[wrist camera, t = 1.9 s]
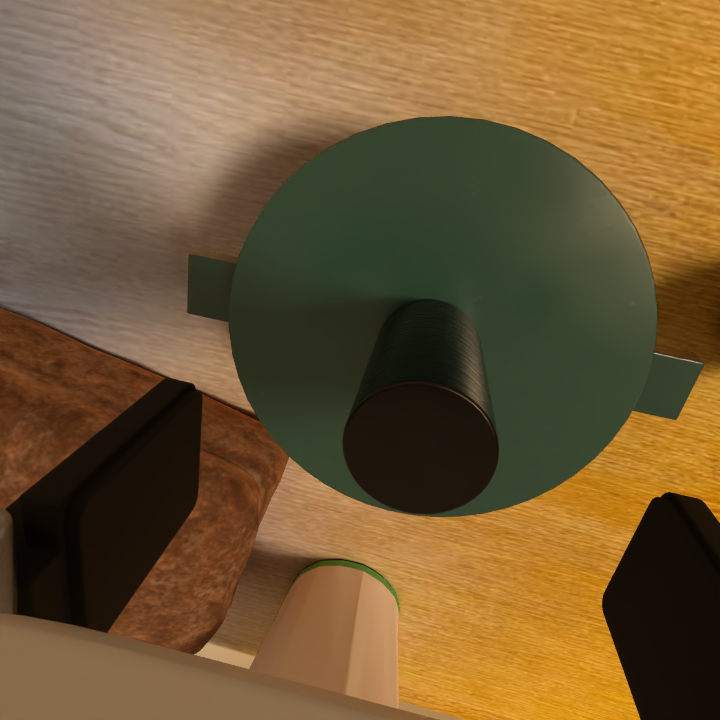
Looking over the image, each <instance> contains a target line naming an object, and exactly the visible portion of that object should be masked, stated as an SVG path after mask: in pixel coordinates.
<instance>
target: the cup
mask: <svg viewBox="0 0 720 720" xmlns="http://www.w3.org/2000/svg"><path fill="white" fill-rule="evenodd" d="M398 619H399V603H398V599H397V595H396V592H395V591H394V589H393V588H392V587H391V586H390V584H389V583H388V582H387V581H386V580H385V579H384V578H383V577H382V576H380V575H379V574H377V573H376V572H374V571H373V570H371V569H369V568H368V567H366V566H364V565H361V564H357V563H353V562H348V561H344V560H329V561H320V562H318V563H315V564H313V565H311V566H309V567H307V568H305V569H304V570H303V571H302V572H301V573H300V574H299V575H298V576H297V577H296V579H295V580H294V581H293V584H292V586H291V588H290V590H289V592H288V594H287V596H286V598H285V600H284V602H283V604H282V606H281V608H280V610H279V612H278V614H277V616H276V618H275V619H274V621H273V623H272V625H271V627H270V629H269V631H268V633H267V635H266V637H265V639H264V641H263V643H262V645H261V647H260V649H259V651H258V653H257V655H256V657H255V659H254V661H253V663H252V665H251V667H250V670H254V671H257V672H261V673H265V674H269V675H273V676H276V677H280V678H284V679H288V680H292V681H295V682H299V683H303V684H307V685H311V686H314V687H318V688H322V689H326V690H330V691H333V692H337V693H341V694H344V695H348V696H352V697H356V698H359V699H363V700H367V701H371V702H374V703H378V704H382V705H386V706H389V707H393V708H397V709H399V696H398V630H397V625H398Z"/></svg>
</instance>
